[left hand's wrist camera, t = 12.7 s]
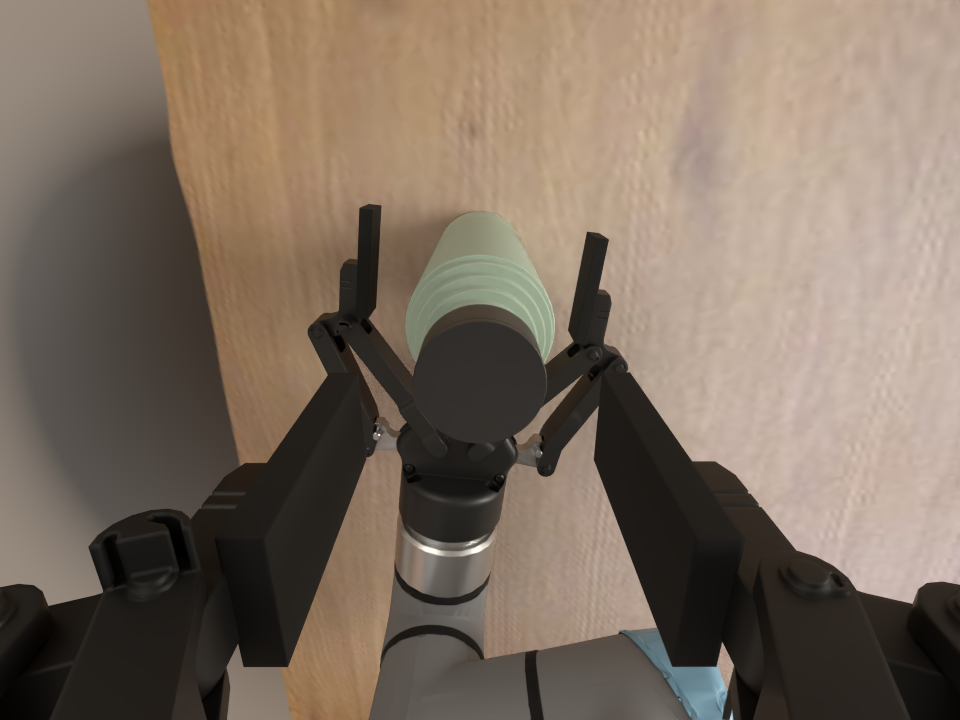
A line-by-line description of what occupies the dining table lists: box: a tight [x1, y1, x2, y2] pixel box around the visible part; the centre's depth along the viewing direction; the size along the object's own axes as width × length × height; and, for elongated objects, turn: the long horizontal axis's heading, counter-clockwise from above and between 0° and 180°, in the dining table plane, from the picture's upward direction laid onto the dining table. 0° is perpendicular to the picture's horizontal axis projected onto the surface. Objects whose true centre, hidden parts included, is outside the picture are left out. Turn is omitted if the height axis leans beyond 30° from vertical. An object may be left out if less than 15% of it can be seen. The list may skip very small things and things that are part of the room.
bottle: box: [405, 211, 555, 363], centre depth 28 cm, size 6×6×23 cm
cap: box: [413, 304, 547, 443], centre depth 17 cm, size 4×4×2 cm
